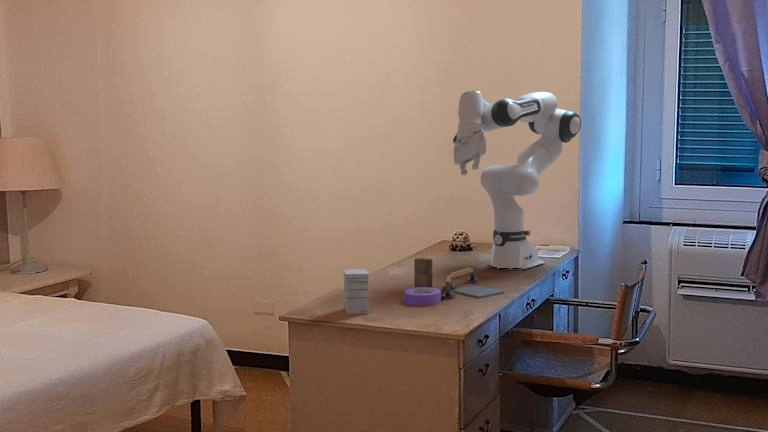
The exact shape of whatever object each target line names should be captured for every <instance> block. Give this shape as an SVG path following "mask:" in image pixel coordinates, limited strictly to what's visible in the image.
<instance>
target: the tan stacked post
mask: <svg viewBox="0 0 768 432" xmlns="http://www.w3.org/2000/svg"><path fill="white" fill-rule="evenodd" d="M413 266H414V269H413V270H414V288H415V287H431V288H433V258H428V257H424V256H423V257H418V258H414V263H413Z"/></svg>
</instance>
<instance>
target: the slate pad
mask: <svg viewBox="0 0 768 432" xmlns="http://www.w3.org/2000/svg"><path fill="white" fill-rule="evenodd" d="M500 293H502V294H505V290H502V289H496V288H492V287H487V286H482V285H475V286H471V287H466V288H460V289H454V290H453V294H458V295H459V294H460V295H464V296H467V295H468V297H471V298H472V297H473V298H477V299H483V298H487V296H488V297H493V296H496V294H497V295H501V294H500Z"/></svg>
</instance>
